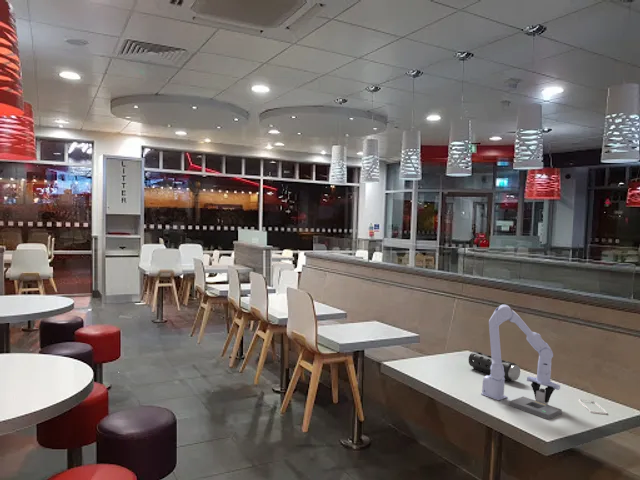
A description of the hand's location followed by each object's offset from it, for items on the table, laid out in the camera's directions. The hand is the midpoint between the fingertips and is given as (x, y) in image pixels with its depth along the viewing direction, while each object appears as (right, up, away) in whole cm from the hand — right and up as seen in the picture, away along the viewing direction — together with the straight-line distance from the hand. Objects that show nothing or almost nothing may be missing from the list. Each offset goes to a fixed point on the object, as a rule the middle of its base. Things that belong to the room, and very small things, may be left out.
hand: (541, 400), depth 223 cm
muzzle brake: (-8, 0, +41) cm, 42 cm away
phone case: (+23, -4, -1) cm, 24 cm away
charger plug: (0, -2, 0) cm, 2 cm away
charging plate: (-7, -2, -8) cm, 10 cm away
